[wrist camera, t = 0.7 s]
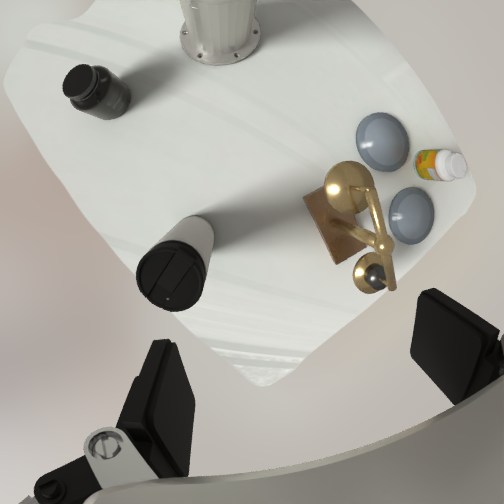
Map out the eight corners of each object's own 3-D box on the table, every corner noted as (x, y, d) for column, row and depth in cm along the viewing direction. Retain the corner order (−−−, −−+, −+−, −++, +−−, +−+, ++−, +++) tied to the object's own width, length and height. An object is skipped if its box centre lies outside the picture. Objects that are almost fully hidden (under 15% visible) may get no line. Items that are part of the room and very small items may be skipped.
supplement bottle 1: (121, 74, 34) (90, 46, 23) (139, 102, 36) (109, 79, 24) (88, 100, 35) (50, 82, 23) (104, 129, 36) (66, 116, 25)
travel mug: (224, 229, 42) (220, 273, 23) (199, 263, 43) (179, 329, 24) (190, 205, 41) (157, 229, 22) (166, 240, 42) (121, 290, 23)
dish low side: (380, 202, 43) (384, 203, 42) (420, 179, 42) (424, 179, 41) (398, 252, 46) (402, 254, 44) (435, 227, 45) (439, 228, 44)
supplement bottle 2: (423, 144, 41) (458, 141, 32) (437, 167, 42) (473, 168, 33) (408, 162, 42) (443, 162, 32) (423, 185, 43) (458, 189, 34)
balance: (291, 175, 41) (334, 174, 24) (324, 158, 41) (383, 149, 23) (342, 280, 46) (394, 333, 29) (370, 263, 46) (432, 306, 28)
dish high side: (345, 125, 39) (348, 124, 38) (389, 106, 39) (393, 105, 38) (371, 181, 42) (375, 181, 41) (412, 158, 41) (417, 158, 40)
